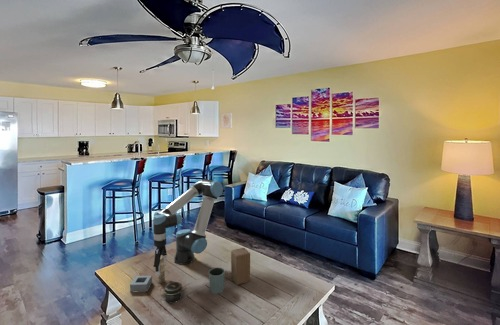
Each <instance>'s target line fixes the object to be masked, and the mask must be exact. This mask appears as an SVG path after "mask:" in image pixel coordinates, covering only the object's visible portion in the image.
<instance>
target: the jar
mask: <svg viewBox="0 0 500 325" xmlns="http://www.w3.org/2000/svg"><path fill="white" fill-rule="evenodd" d="M163 292H164V299H165V301H166V302H167V303H169V302H174V303H176V301H177V302H179V301H180V300H181V298H182V295H183V287H182V284H181V282H179V281H172V282H169V283H167V284H166V285H165V286H164V291H163ZM178 300H179V301H178Z"/></svg>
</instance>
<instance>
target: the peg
mask: <svg viewBox="0 0 500 325" xmlns="http://www.w3.org/2000/svg"><path fill="white" fill-rule="evenodd" d="M159 265H160V276H157V277H158V278H157V279H158V284H164V283H165V282H166V275H165V274H166V273H165V265H164V258H163V257H160V263H159ZM163 282H164V283H163Z"/></svg>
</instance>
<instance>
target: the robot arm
mask: <svg viewBox="0 0 500 325" xmlns="http://www.w3.org/2000/svg"><path fill="white" fill-rule="evenodd" d="M223 191H224V188H223V185H222V183H221V182H220V181H217V180H212V179H207V178H204V179H200V180H198V181H196V182H194V183H193V184H191V185H190V186H189V188H188V190H186V191H185V192H183V193H182V194H181V195H180V196H178V197H177V198H175V200H173V201H172V202H171V203H170V204H168V205H166V207H164V208H163V209H158V210H156V211H155V212H154V214H153V221H152V222H153V223H152V225H153V227H152V228H153V234H152V236H153V246H154V247H156V249H155V251H154V262H153V265H152V266H153V267H154V274H155V277H158V276H160V265H159V263H160V257H163V258H164V266H166V265H167V259H166V258H167V257H166V256H167V255H168V253H167V248H166V244H167V229H168V228H172V227H176V226H178V225H181V224H182V222H183V217H182V215H181V214H180V213H178V211H179V210H182V208H183V207H185V206H186V205H187V204H188V203H189V202H191V201H192V200H193V199H194V198H196V197H199V196H200V195H202V201H201V206H200V208H199V212H198V215H197V218H196V221H195V224H194V227H193V230H191V229H190V228H187V229H180V230H178V231H176V233H175V245H176V246H175V248H176V250H175V254H174V258H173V261H174V263H176V264H177V265H178V264H179V265H186V264H190V263H193V262H194V261H195V254H197V255H198V254H202V253H203V252H204V251H205V250H206V248H207V246H208V240H207V239H206V238H207V234H206V231H207V227H208V223H209V220H210V217H211V214H212V211H213V207H214V204H215V202H216V201H217V200H218V198H219V197H220V196H222V194H223Z"/></svg>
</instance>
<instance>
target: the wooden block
mask: <svg viewBox="0 0 500 325" xmlns="http://www.w3.org/2000/svg"><path fill="white" fill-rule="evenodd" d="M230 252H231V253H230V256H231V257H230V258H231V259H230V263H231V264H230V267H231V268H230V269H231V270H230V271H231V272H230V274H231V276H230V277H231V279H232V280H233V282H234V283H235V284H236V285H241V284H245V283H249V282H250V281H251V252H249V251H248V250H247V249H246V248H245V247H240V248H236V249H232V250H231V251H230Z"/></svg>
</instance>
